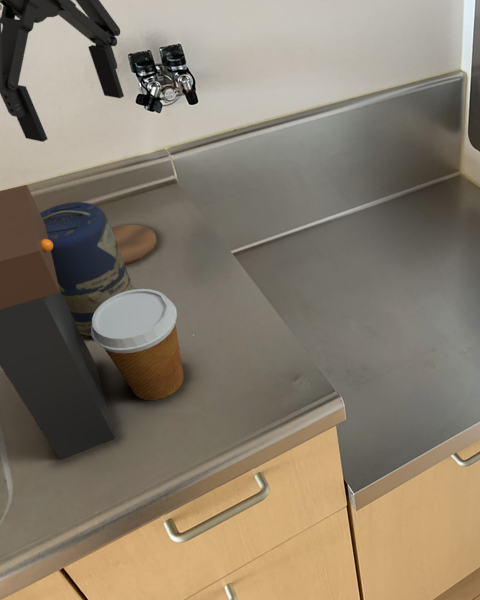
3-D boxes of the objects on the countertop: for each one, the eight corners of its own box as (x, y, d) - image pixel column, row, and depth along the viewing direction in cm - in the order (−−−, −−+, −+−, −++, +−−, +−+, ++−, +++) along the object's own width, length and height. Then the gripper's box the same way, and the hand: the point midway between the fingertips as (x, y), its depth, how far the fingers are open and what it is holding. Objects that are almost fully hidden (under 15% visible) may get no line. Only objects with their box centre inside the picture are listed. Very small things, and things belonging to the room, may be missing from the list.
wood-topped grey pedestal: (115, 360, 81) (36, 182, 63) (136, 430, 73) (50, 247, 55) (47, 384, 78) (-57, 203, 60) (60, 459, 70) (-57, 275, 52)
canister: (132, 340, 84) (88, 232, 72) (61, 343, 84) (5, 235, 72) (148, 294, 91) (111, 190, 79) (83, 297, 91) (36, 192, 79)
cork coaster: (70, 255, 99) (69, 253, 98) (121, 221, 106) (120, 218, 106) (122, 274, 95) (121, 271, 95) (170, 237, 102) (170, 234, 102)
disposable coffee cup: (189, 408, 75) (164, 339, 67) (110, 413, 75) (75, 344, 67) (202, 352, 82) (181, 284, 74) (129, 356, 82) (100, 288, 74)
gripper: (-75, -46, 55) (23, 165, 69) (116, -92, 72) (163, 84, 86) (-132, -52, 57) (-26, 154, 71) (66, -96, 75) (120, 77, 89)
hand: (78, 116), depth 79 cm, fingers open, 13 cm apart
